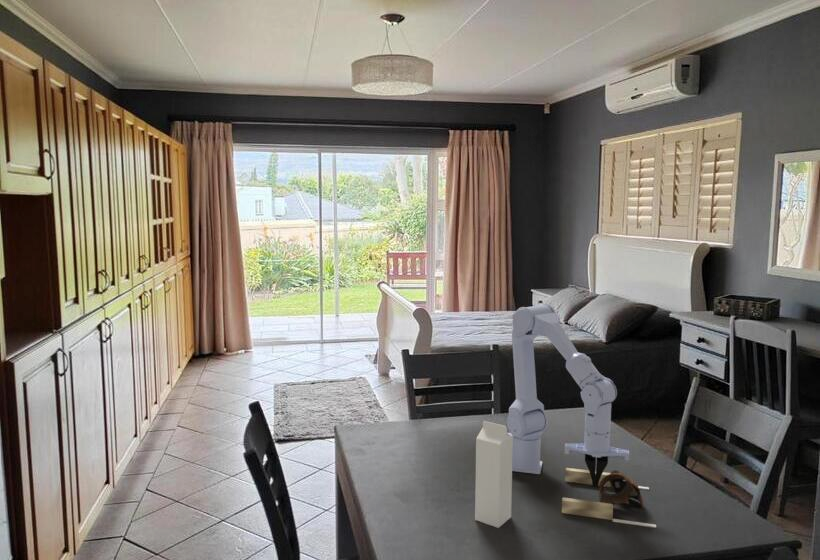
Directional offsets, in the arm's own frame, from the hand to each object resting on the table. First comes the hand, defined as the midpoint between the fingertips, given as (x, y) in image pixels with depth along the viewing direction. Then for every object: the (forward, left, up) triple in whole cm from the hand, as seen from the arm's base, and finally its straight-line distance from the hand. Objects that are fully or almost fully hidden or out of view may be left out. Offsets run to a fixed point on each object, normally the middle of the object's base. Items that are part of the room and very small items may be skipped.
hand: (595, 485), depth 145 cm
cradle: (-2, 0, -3) cm, 4 cm away
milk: (-22, -17, -4) cm, 27 cm away
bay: (+8, 0, -3) cm, 9 cm away
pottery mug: (+6, 0, -4) cm, 7 cm away
